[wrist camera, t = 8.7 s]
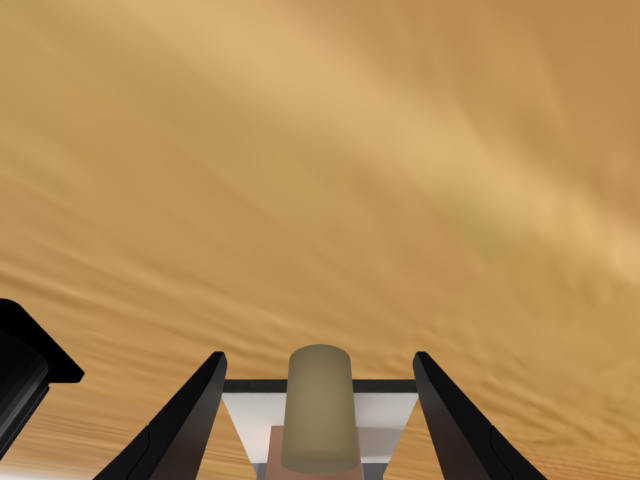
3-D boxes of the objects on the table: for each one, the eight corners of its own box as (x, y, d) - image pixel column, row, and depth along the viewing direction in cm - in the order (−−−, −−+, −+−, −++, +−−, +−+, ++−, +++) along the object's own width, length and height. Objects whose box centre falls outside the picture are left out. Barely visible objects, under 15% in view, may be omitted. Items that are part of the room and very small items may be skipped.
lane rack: (223, 379, 17) (209, 434, 15) (416, 379, 17) (430, 434, 15) (269, 492, 33) (265, 527, 31) (370, 492, 33) (373, 527, 31)
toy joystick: (254, 323, 13) (229, 448, 9) (386, 326, 13) (412, 450, 9) (276, 456, 23) (268, 538, 20) (349, 457, 23) (354, 538, 20)
